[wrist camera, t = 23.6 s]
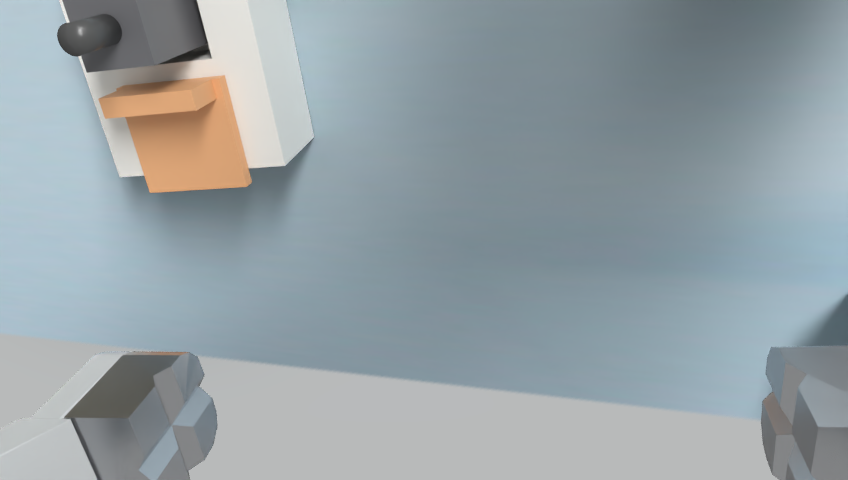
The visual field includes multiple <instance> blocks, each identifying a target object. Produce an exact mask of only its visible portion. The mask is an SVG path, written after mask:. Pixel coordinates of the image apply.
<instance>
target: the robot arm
mask: <svg viewBox="0 0 848 480" xmlns="http://www.w3.org/2000/svg"><path fill="white" fill-rule="evenodd" d="M766 376H767V378H768V380H769V383H770V385H771V387H772V389H773V392H772V393H771V394H769V395H768V396H767V397H766V398H765V399H764V400H763V402H762V417H761V426H762V439H763V445H764V450H765V454H766V458H767V461H768V464H769V467H770V469H771V472H772V474H773V475H774V476H775V477H777V478H778V479H779V480H848V345H844V346H798V347H771V349H770V351H769V354H768V357H767V365H766ZM203 377H204V372H203V370H202V367H201V365H200V362H199V359H198V357H197V356H195V355H193V354H191V353H189V352H136V351H134V352H128V351H126V352H125V351H124V352H123V351H121V352H103V353H99V354H96V355H94V356H93V357H92V358H91V359H90V360H89V361H88V362H87V363H86V364H85V365H84V366H83V367H82V368H81V369H80V370H79V371H78V372H77V373H76V374H75V375H74V376H72V378H70V379H69V380H68V381H67V382H66V383H65V384H64V385H63V386H62V387H61V388H60V389H59V390H58V391H57V392H56V393H55V394H54V395H53V396H52V397H51V398H50V399H49V400H48V401H47V402H46V403H45V404H44V405H43V406H42V407H41V408H40V409H39V410H38V411H37V412H36V413H35V414H34V415H33V416H32V417H31V418H20V419H18V420H16V421H15V422H12V423H10V424H8V425H6V426H4V427H2V428H0V480H190V477H189V472H188V471H189V470H190V469H192V468H193V467H195V466H196V465H197V464H199V463H200V462H202V461H203V460H205V458H206V456H207V455H208V453H209V451H210V450H211V448H212V446H213V444H214V439H215V435H216V430H217V414H216V409H215V405H214V402H213V399H212V398H211V397H210V396H209V395H208V394H207V393H206V392H205V391H204V390H202V389H201V388H200V387H199V386H200V384H201V381H202V379H203Z"/></svg>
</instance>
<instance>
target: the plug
mask: <svg viewBox="0 0 848 480" xmlns="http://www.w3.org/2000/svg"><path fill="white" fill-rule="evenodd" d="M62 1H63V4H64V7H65V10H66V13H67V16H68V19H69V23H65V24H63V25H61V26H60V28H59V29H58V33H57V37H58V41H59V44H60V46H61V47H62V48H63V50H64V51H65V52H67V53H68V54H70V55H72V56H81V57H82V60H83V63H84V66H85V69H86V72H87V73H88V72H98V71H107V70H117V69H126V68H136V67H145V66H154V65H157V64H160V63H162V62H164V61H167V60H169V59H172V58H174V57H176V56H179V55H181V54H184V53H186V52H188V51H191V50H193V49H196V48H198V47H200V46H203V45H205V44H208V41H207V37H206V33H205V30H204V26H203V22H202V18H201V14H200V10H199V7H198V3H197V0H62Z"/></svg>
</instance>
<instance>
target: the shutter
mask: <svg viewBox="0 0 848 480" xmlns="http://www.w3.org/2000/svg"><path fill="white" fill-rule="evenodd" d="M116 90H117V91H115V92H113V93H110V94H108V95H106V96H104V97H101V98H99V99H98V100H99V103H100V106H101V108H102V111H103V114H104V117H105V119H108V118H119V117H125V118H126V121H127V124H128V127H129V130H130V133H131V136H132V139H133V142H134V146H135V149H136V152H137V155H138V158H139V161H140V164H141V167H142V170H143V173H144V176H145V179H146V182H147V185H148V188H149V192H150V193H157V192H173V191H189V190H205V189H221V188H237V187H248V186H249V185H250V184H251V183H252V180H251V176H250V172H249V168H248V165H247V161H246V157H245V153H244V149H243V145H242V141H241V137H240V133H239V129H238V125H237V121H236V117H235V113H234V110H233V106H232V102H231V98H230V94H229V90H228V86H227V82H226V78H225V75H222V76H213V77H203V78H193V79H183V80H173V81H163V82H153V83H143V84H133V85H123V86H121V87H119V88H116Z"/></svg>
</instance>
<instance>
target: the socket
mask: <svg viewBox="0 0 848 480" xmlns="http://www.w3.org/2000/svg"><path fill="white" fill-rule="evenodd" d="M59 1H60V4H61V7H62V10H63V13H64V16H65V19H66V22H67V23H69V19H68V16H67V13H66V10H65V7H64V4H63V1H62V0H59ZM197 3H198V7H199V10H200V14H201V18H202V22H203V26H204V30H205V33H206V37H207V41H208V44H205V45H203V46H200V47H198V48H196V49H193V50H191V51H188V52H186V53H184V54H181V55H179V56H176V57H174V58H172V59H169V60H167V61H164V62H162V63H160V64H157V65H154V66H145V67H136V68H126V69H117V70H107V71H98V72H88V73H87V72H86V69H85V66H84V63H83V60H82V57H81V56H78V57H79V60H80V62H81V65H82V68H83V71H84V74H85V77H86V80H87V83H88V86H89V89H90V92H91V95H92V97H93V100H94V103H95V106H96V109H97V112H98V115H99V118H100V121H101V124H102V127H103V130H104V132H105V135H106V138H107V141H108V144H109V147H110V150H111V153H112V156H113V159H114V162H115V165H116V167H117V170H118V173H119V176H120V177H131V176H144V173H143V170H142V167H141V164H140V161H139V158H138V155H137V152H136V149H135V146H134V142H133V139H132V136H131V133H130V130H129V127H128V124H127V121H126V118H125V117H119V118H108V119H105V117H104V114H103V111H102V108H101V106H100V103H99V100H98V99H99V98H101V97H104V96H106V95H108V94H110V93H113V92H115V91H117V90H116V88H119V87H121V86H123V85H133V84H143V83H153V82H163V81H173V80H183V79H193V78H203V77H213V76H222V75H225V78H226V82H227V86H228V90H229V94H230V98H231V102H232V106H233V110H234V113H235V117H236V121H237V125H238V129H239V133H240V137H241V141H242V145H243V149H244V153H245V157H246V161H247V165H248V168H261V167H276V166H286V165H287V164H288V163H289V162H290V161H291V160H292V159H293V158H294V157H295V156H296V155H297V154H298V153H299V152H300V151H301V150H302V149H303V148H304V147H305V146H306V145H307V144H308V143H309V142H310V141H311V140H312V139H313V138H314V133H313V128H312V123H311V118H310V114H309V109H308V104H307V99H306V94H305V89H304V85H303V80H302V75H301V70H300V65H299V60H298V55H297V51H296V46H295V41H294V36H293V31H292V26H291V22H290V17H289V12H288V7H287V2H286V0H197Z"/></svg>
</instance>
